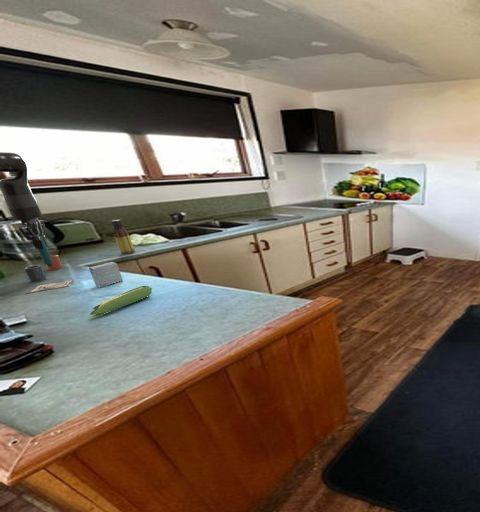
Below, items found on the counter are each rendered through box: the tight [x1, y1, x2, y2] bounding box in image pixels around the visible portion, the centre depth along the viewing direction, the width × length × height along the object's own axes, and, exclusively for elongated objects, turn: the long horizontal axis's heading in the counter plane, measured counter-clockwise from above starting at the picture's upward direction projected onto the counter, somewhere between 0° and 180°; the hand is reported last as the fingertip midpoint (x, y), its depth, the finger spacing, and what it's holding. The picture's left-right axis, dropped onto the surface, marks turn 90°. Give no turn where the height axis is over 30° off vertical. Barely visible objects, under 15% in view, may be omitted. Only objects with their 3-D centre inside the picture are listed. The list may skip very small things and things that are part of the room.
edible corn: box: [88, 285, 153, 320], centre depth 99 cm, size 5×20×5 cm, turn 162°
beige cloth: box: [25, 279, 76, 295], centre depth 116 cm, size 12×9×1 cm
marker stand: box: [23, 264, 47, 284], centre depth 122 cm, size 5×5×7 cm
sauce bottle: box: [111, 219, 136, 255], centre depth 158 cm, size 7×6×20 cm
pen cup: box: [46, 254, 64, 271], centre depth 136 cm, size 5×5×7 cm
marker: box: [37, 236, 53, 267], centre depth 113 cm, size 2×2×13 cm
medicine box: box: [88, 261, 124, 288], centre depth 118 cm, size 8×4×9 cm, turn 154°
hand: (42, 247), depth 112 cm, fingers closed on marker, 2 cm apart
